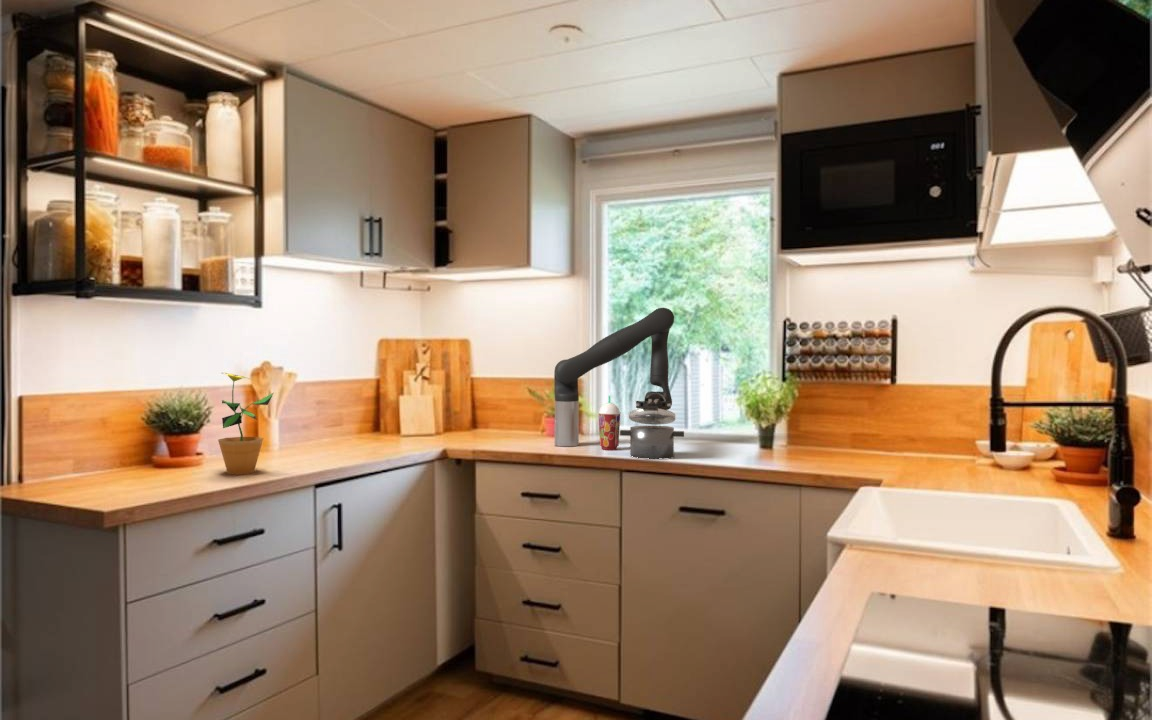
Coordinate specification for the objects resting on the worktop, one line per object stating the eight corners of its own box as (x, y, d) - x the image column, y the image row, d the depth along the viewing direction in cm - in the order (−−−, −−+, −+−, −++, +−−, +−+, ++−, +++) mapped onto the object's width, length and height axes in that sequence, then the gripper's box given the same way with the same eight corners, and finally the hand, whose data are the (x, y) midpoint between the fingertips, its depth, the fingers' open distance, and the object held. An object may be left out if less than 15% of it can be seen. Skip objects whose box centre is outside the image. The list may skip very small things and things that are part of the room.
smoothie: (625, 449, 287) (625, 395, 286) (610, 451, 280) (610, 396, 280) (608, 447, 292) (608, 394, 292) (593, 449, 286) (593, 395, 286)
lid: (631, 424, 277) (631, 418, 277) (676, 425, 274) (676, 419, 275) (626, 409, 259) (626, 403, 260) (673, 410, 257) (674, 404, 257)
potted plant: (248, 478, 218) (248, 372, 218) (193, 475, 223) (193, 372, 223) (287, 469, 235) (287, 371, 235) (236, 466, 241) (236, 370, 240)
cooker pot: (623, 452, 278) (623, 424, 278) (684, 453, 275) (684, 425, 274) (617, 458, 262) (617, 429, 262) (683, 460, 258) (683, 430, 258)
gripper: (637, 392, 282) (632, 395, 265) (673, 393, 280) (670, 395, 263) (637, 413, 282) (632, 416, 265) (673, 413, 280) (670, 417, 263)
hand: (651, 406), depth 264 cm, fingers closed
